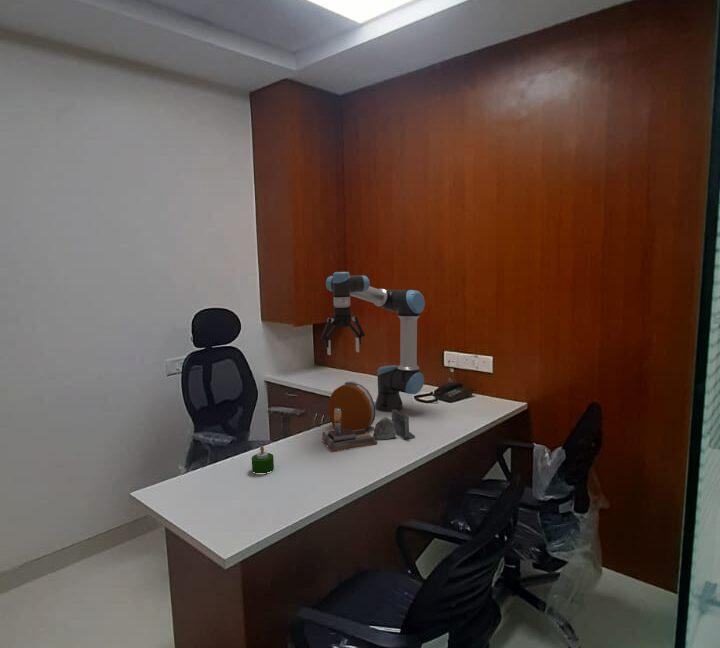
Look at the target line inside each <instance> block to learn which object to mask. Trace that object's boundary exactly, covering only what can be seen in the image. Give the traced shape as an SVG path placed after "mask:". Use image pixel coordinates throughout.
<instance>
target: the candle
mask: <svg viewBox="0 0 720 648" xmlns="http://www.w3.org/2000/svg"><path fill="white" fill-rule="evenodd" d="M259 449H260V451H259V452H257V453H256V454H254V455H252V456H251V470H252V471H253V472H255V473H267V472H270V471H272V470H273V469H274V470H275V465H274V464H275V463H274V462H275V461H274V455H273V453H270V452H268V451H264V450H265V447H264V446H263V445H260V448H259ZM252 471H251V472H252ZM253 472H252V473H253Z"/></svg>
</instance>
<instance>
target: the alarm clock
mask: <svg viewBox="0 0 720 648" xmlns="http://www.w3.org/2000/svg"><path fill="white" fill-rule="evenodd" d="M328 399H329V400H328V403H327V404H328V405H327V407H328V408H327V413H328V416H329V417H328V418H329V421H330V423H331V425H332V426H333V427H334V428H335V422H334V411H335V408H341V413H342V423H341V427H342V429H347V428H350V429H351V430H359V429H365V431H366V430H367V429H369V428H370V427H371V426H372V425H373V424H374V422H375V418H376V408H375V403H374V402H375V401H374V399H373V396H372V395H371V393H370V391H369V390H368V389H367V388H366V387H365V386H364V385H362V384H360V383H357V382H356V381H345V382H344V384H342V385H340V386H339V387H337V388H336V389H334V390H333V391H332V393H331V394H330V396H329V398H328Z"/></svg>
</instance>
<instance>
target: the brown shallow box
mask: <svg viewBox="0 0 720 648" xmlns="http://www.w3.org/2000/svg"><path fill="white" fill-rule="evenodd" d="M352 431H353V432H354V433H355V434H356V439H354V440H348V441H341V442H335V443H334V441H333V440H332V439H331V438H330V437H329V436H328V433H326V431H322V434H321V435H322V437H321V438H322V439H321V440H323V441H322V442H323V444H324V443H325V444H326V445H327V446H328V447H327V446H326V445H325V444H324V445H325V446H326V447H327V448H328V449H329V451H330V450H331V451H333V452H338V450H339V451H344V449H346V450H350V448H352V449H356V448H362V447H363V448H364V447H370V446H375V445H378V441H377V439H376V438H375V437H374V436H372V435H370V434H369V433H368V432H367V431H366V430H365V429H359V430H352ZM331 451H330V452H331Z"/></svg>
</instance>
